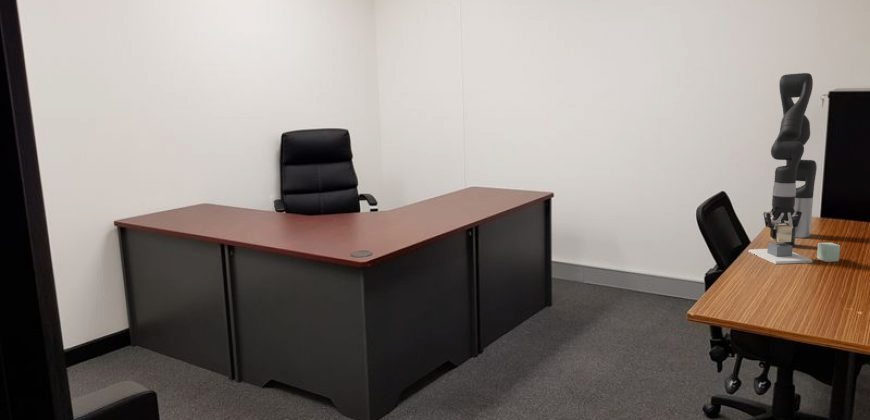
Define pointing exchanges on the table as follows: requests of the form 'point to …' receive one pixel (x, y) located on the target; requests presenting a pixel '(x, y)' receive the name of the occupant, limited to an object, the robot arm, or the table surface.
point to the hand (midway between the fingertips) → (780, 238)
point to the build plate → (780, 259)
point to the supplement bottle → (791, 236)
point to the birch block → (783, 233)
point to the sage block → (828, 252)
